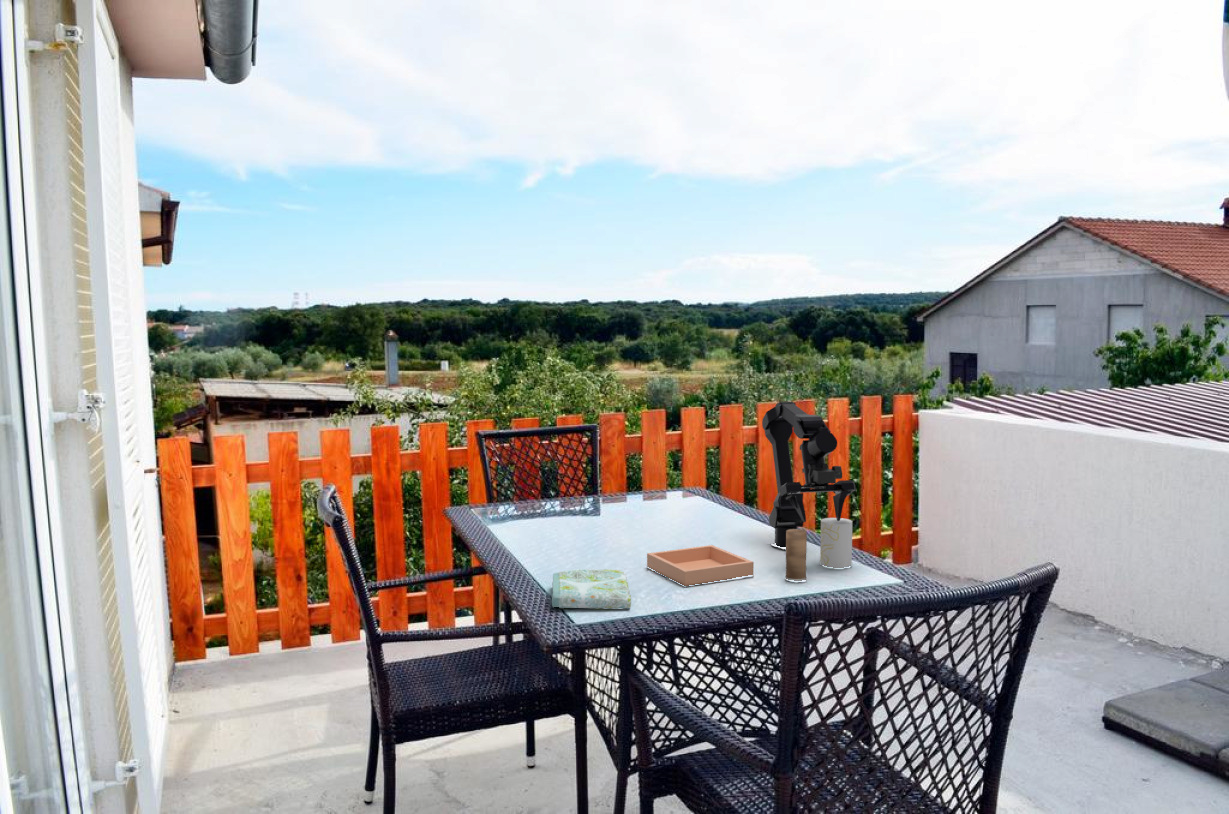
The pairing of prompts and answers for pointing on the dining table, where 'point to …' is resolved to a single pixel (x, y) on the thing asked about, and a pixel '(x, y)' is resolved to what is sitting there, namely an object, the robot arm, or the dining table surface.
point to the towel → (591, 589)
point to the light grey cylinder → (836, 543)
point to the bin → (699, 565)
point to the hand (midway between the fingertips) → (821, 521)
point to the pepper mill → (796, 554)
